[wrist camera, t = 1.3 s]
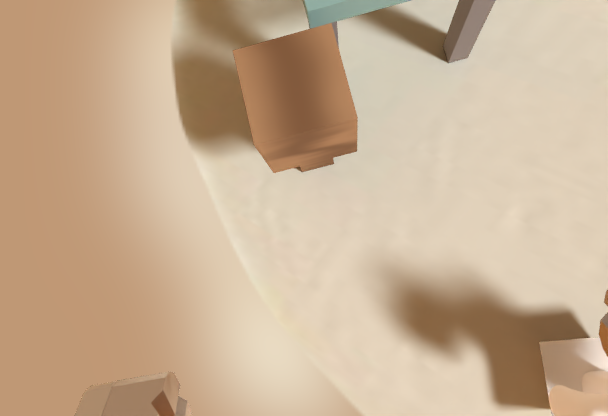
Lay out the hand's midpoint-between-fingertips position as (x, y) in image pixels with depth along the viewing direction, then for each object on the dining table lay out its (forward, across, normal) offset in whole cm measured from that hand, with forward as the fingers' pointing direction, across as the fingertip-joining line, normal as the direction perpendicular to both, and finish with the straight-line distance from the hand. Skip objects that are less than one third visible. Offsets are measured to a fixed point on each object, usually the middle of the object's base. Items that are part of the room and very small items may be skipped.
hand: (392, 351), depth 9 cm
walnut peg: (+34, -1, +10) cm, 35 cm away
